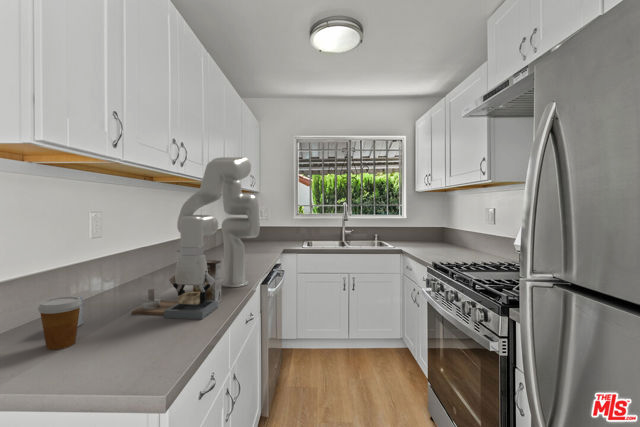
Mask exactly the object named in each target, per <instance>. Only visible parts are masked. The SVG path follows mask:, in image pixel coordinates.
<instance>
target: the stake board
mask: <svg viewBox="0 0 640 427" xmlns="http://www.w3.org/2000/svg"><path fill="white" fill-rule="evenodd" d="M147 296H148V298H147V299H145V300H142V306H140V307H138V308H135V309H133V310H132V311H131V315H145V316H146V315H148V316H150V315H151V316H165V314H164V310H166V309H168V308H170V307H172V306H173V305H175V304H177V303H178V300H163V299H162V300H161V299H160V298H155V288H150V289H147Z"/></svg>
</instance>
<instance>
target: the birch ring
mask: <svg viewBox="0 0 640 427" xmlns="http://www.w3.org/2000/svg"><path fill="white" fill-rule="evenodd" d="M200 292H201V291H196V292H193V291H185V293H184V294H182V295H180V296H178V295H177V301H178V304H195V305H198V304H199V303H200Z"/></svg>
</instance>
